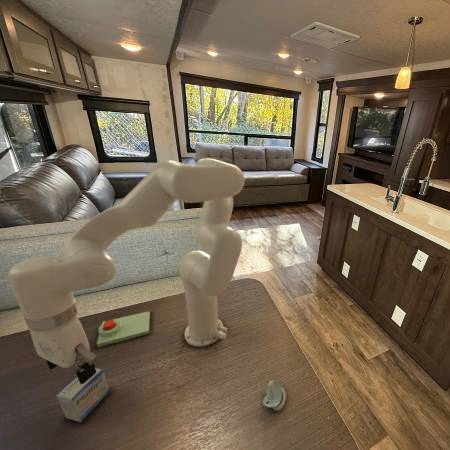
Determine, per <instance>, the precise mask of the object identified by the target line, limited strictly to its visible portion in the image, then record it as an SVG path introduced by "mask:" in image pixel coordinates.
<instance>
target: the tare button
mask: <svg viewBox="0 0 450 450" xmlns="http://www.w3.org/2000/svg"><path fill="white" fill-rule="evenodd" d="M105 321H106V322H105ZM105 321H104V322H105V323H104V324H103V326H104V330H106V331H107V330H111V329H113V328H114V327H115V321H114V320H113V319H108V320H105Z"/></svg>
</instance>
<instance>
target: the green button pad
mask: <svg viewBox="0 0 450 450" xmlns="http://www.w3.org/2000/svg"><path fill="white" fill-rule="evenodd" d="M150 317H151V312H150V311H144V312H139V313H135V314H131V315H126V316H123V317H122V316H121V317H119V318H114V319H112V320H114V321H115V327H114V328H113V329H111V330H107V331H106V330H104V326H103V324H104V323H105V322H106V321H107V320H104V321H102V322H101V325H100V326H98V329H97V330H98V337H97V341H96V346H97V348H101V347H104V346H108V345H112V344H116V343H119V342H123V341H127V340H131V339H135V338H138V337H142V336H146V335H149V334H150V323H151V322H150Z"/></svg>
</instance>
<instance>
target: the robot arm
mask: <svg viewBox="0 0 450 450" xmlns="http://www.w3.org/2000/svg"><path fill="white" fill-rule="evenodd" d="M245 182H246V181H245V175H244V173H243V171H242V170H241V168H240V167H238V166H237V165H234V164H231V163H228V162H224V161H222V160H218V159H214V158H210V157H203V158H200V159H198V160H197V161H196V162H195V164H194V166H193V165H189V164H186V163H183V162H180V161H177V160H171V159H167V160H163V161H161V162H159V163H158V164H157V165H155V166H154V167H153V168H152V169H151V170H150V171H149V172H148V173H147V174H146V175H145V176H144V177H143V178H142V179H141V180H140V182H138V183H137V184H136V186H134V187H133V188H132V189H131V190H130V191H129V193H128V194H126V195H125V196H124V197H123V198H122V199H121V200H120V201H119V202H118V203H115V204H114V205H112V206H110V207H107V208H106V209H105V210H103V211H101V212H100V213H98V214H96V215H94V216H92V217H91V218H90V219H89V220H88V221H86V222H85V223H84V224H83V225H82V226H81V227H80V228H79V229H77V230H76V231H75V232H74V234H73V235H72V236H71V237H70V238H69V239H67V241H66V242H65V244H64V245H63V246H62V248H61V250H60V253H59V257H55V256H51V255H45V256H37V257H32V258H27V259H25V260H22V261H20V262H18V263H15V264H14V265H13V266H12V267H11V268H10V269H9V270H8V272H7V280H8V282H9V284H10V286H11V289H12V291H13V294H14V296H15V299H16V301H17V304H18V306H19V308H20V311H21V313H22V315H23V318H24V320H25V324H26V325H27V327H28V330H29V333H30V336H31V340H32V343H33V344H32V345H33V347H34V350H35V353H36V354H37V356H39V357H40V358H42V359H43V360H45V362H46V364H47V367H48V369H50V370H53V369H55V368H56V367H58V366H59V367H61V368H64V369H65V368H67V369H68V368H70V367H71V366H73V367H74V368H75V369H76V371H75V373H76V377H78V380H79V382H80V384H84V383H85V382H86V381H87V380H89V379H90V378H91V377H92V376H93V375H95V374H96V369H95V368H96V366H95V363H96V362H97V361H96V359H97V355H96V354H94V353H93V352H92V351H91V350H90V349H91V347H90V343H89V339H88V338H87V335H86V332H85V330H84V327H83V325H82V323H81V321H80V319H79V317H78V315H79V309H78V306H77V304H76V302H77V301H76V298H75V296H74V294H73V293H74V292H76V291H82V290H88V289H92V288H93V289H94V288H97V287H100V286H103V285H106V284H107V283H109V282H110V281H111V280H112V279H113V278H114V277H115V275H116V273H117V265H116V263H115V261H114V259H113V258H112V257H111V255H109V254H108V253H107V251H106V250H107V248H109V247H110V245H112V243H114V241H115V240H116V239H118V238H119V237H120V236H122V235H124V234H125V233H127V232H129V231H131V230H136V229H144V228H150V227H153V226H154V225H156V224H157V223H158V222H159V220H160V219H161V218H162V217H163V216H164V215H165V214H166V213H167V212H168V210H169V209H170V208H171V207H172V206H173V205H174V204H175V203H176V202H177V200H178V201H180V202H183V203H186V204H187V203H189V204H195V203H203V205H202V208H201V212H200V216H199V218H198V221H197V224H196V228H195V231H194V234H193V240H194V243H195V244H196V245H197V246H198V247H199V248H200V249H202V250H203V251H202V250H191V251H188V252H186V253H185V255H184V256H182V258H181V259H180V262H179V267H178V269H179V275H180V279H181V283H182V287H183V289H184V296H185V305H186V314H187V322H188V325H187V327H186V328H185V331H184V339H185V341H186V343H187V344H188V345H190V346H192V347H199V348H200V347H201V348H202V347H207V346H210V345H212V344H213V343H215V342H217V341H218V340H219V339H220V340H224V341H225V340H226V338H227V335H228V334H227V331H228V328H227V327H225V326H224V324H223V322H222V320H220V319H219V310H218V296H220V295H222V294H223V293H224V292H225V291H226V290H227V289H228V288H229V286H230V284H231V283H232V282H231V281H232V279H233V278H234V274H235V271H236V268H237V265H238V263H239V259H240V256H241V253H242V249H243V240H242V236H241V235H240V233H239V232H238V231H236V229H233V228H232V227H230V226H229V225H230V221H231V217H232V214H233V209H234V196H236V195H238V194H239V193H240V192H241V191H242V190H243V189H244V186H245ZM77 354H78V356H77ZM82 358H83V359H84V363H83V364H80V363H79V360H81V359H82Z"/></svg>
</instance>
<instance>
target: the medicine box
mask: <svg viewBox="0 0 450 450" xmlns="http://www.w3.org/2000/svg"><path fill="white" fill-rule="evenodd" d="M95 369H96V374H95V375H93V376H92V377H91V378H90V379H89V380H87V381H86V382H85V383H84V384H80V382H79V380H78V377H77V376H76V377H75V378H73V380H71V381H70V382H69V383H68V384H67V385H66V386H65V387H63V389H62V390H61V391H59V392H58V393H57V394H55V398H56V399H57V402H58V404H59V407H60V408H61V410H62V412H63V414H64V417H65V418H66V419H68V420H72V421H74V422H78V423H82V422H83V421H84V420H85V419H86V418H87V417H88V415H89V414H90V413H91V412H92V411H93V410H94V409H95V408H96V407H97V406H98V404H99V403H100V402H101V401H102V400H104V398H105V397H106V396H107V395H108V394H109V392H110V388H109V385H108V381H107V379H106V375H105V372H104V370H103V369H101V368H97V367H95Z"/></svg>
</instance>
